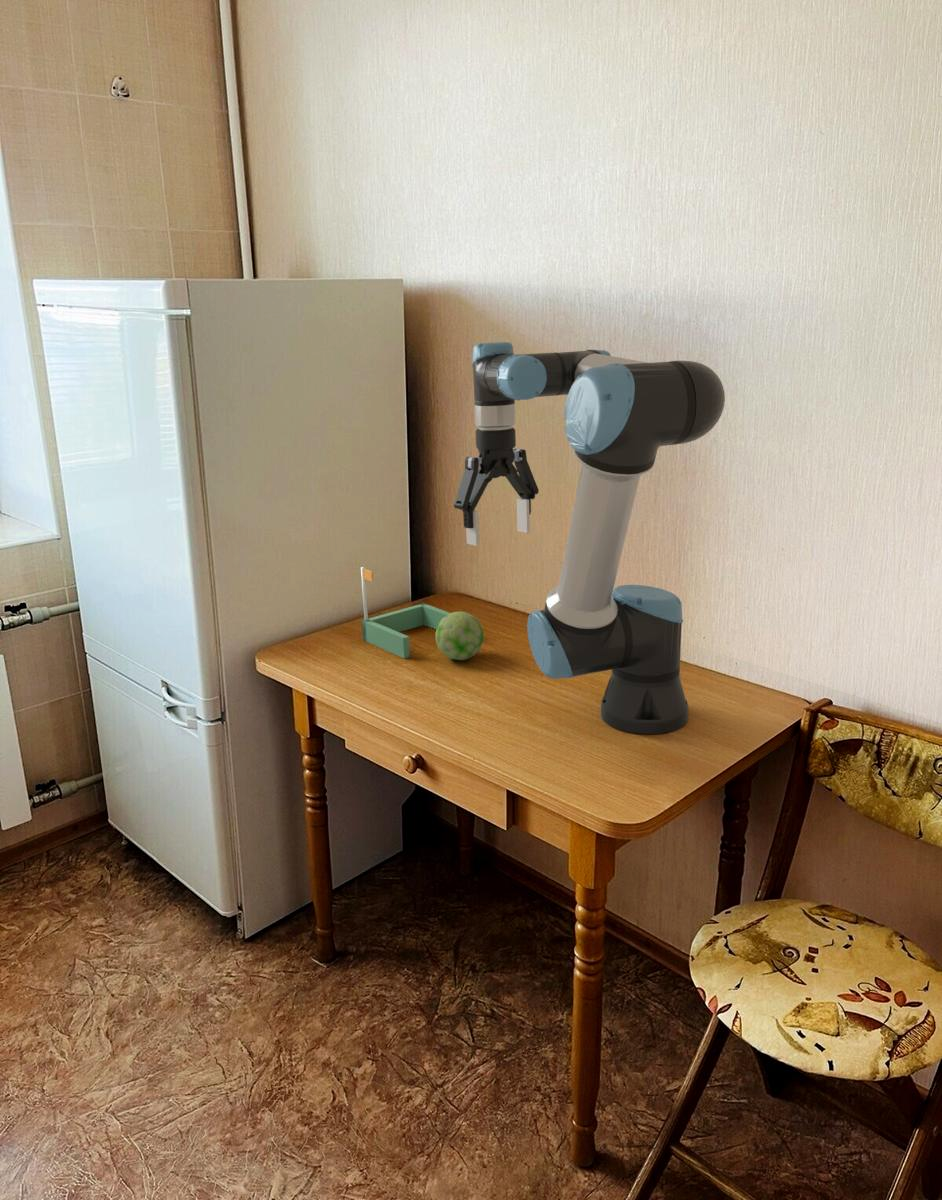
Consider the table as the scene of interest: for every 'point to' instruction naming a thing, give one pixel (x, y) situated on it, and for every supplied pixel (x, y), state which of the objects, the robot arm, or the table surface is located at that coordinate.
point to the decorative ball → (459, 635)
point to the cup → (396, 623)
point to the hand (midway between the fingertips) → (498, 538)
